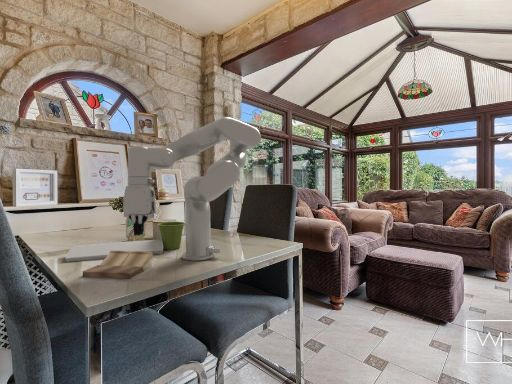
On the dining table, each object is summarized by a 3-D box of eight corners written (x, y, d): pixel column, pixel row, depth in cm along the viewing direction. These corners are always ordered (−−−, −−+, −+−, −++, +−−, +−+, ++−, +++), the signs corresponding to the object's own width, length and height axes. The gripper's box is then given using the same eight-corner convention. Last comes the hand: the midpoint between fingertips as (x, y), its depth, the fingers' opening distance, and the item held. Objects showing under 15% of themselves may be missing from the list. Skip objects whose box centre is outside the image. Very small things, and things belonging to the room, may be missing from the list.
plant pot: (152, 248, 122) (152, 223, 122) (176, 244, 131) (175, 221, 131) (166, 252, 114) (166, 226, 114) (190, 247, 123) (190, 223, 123)
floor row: (143, 270, 90) (143, 266, 90) (130, 278, 82) (130, 273, 82) (99, 269, 92) (99, 264, 91) (82, 276, 84) (82, 271, 84)
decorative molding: (163, 260, 114) (161, 248, 123) (163, 250, 112) (161, 239, 121) (66, 269, 101) (73, 256, 110) (65, 258, 100) (71, 245, 109)
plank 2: (152, 255, 96) (151, 251, 95) (143, 270, 90) (142, 266, 89) (133, 254, 97) (131, 250, 96) (122, 269, 91) (121, 265, 90)
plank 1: (132, 254, 97) (130, 250, 96) (121, 269, 91) (119, 265, 90) (112, 254, 98) (110, 250, 97) (101, 268, 92) (99, 264, 91)
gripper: (164, 182, 98) (163, 233, 98) (126, 182, 99) (125, 232, 100) (154, 182, 90) (153, 237, 90) (112, 181, 92) (111, 235, 92)
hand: (138, 234), depth 95 cm, fingers closed
